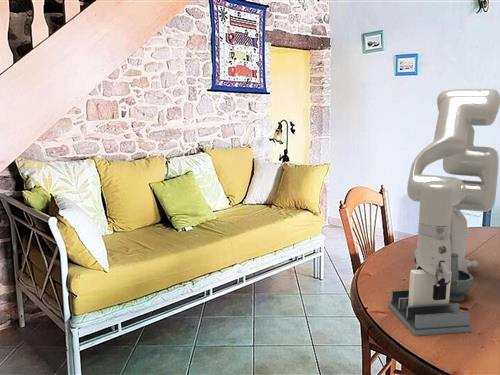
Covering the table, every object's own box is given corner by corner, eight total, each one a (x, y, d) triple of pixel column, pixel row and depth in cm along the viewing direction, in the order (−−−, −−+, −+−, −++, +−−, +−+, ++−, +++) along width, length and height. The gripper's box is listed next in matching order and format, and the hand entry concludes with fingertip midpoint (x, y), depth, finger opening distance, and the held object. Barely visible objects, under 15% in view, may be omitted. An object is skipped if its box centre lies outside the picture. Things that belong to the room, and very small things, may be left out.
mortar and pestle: (473, 305, 125) (477, 266, 123) (437, 301, 128) (440, 262, 126) (466, 289, 136) (470, 252, 133) (433, 286, 139) (436, 249, 136)
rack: (388, 306, 126) (389, 289, 125) (438, 302, 127) (439, 286, 126) (414, 335, 110) (415, 317, 109) (471, 331, 112) (473, 313, 111)
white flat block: (407, 312, 119) (410, 270, 117) (443, 309, 120) (446, 268, 118) (412, 316, 117) (414, 273, 114) (448, 314, 118) (451, 271, 116)
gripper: (467, 239, 106) (461, 305, 109) (431, 219, 123) (426, 277, 126) (437, 240, 105) (432, 307, 109) (404, 220, 122) (401, 278, 125)
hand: (429, 291), depth 117 cm, fingers open, 9 cm apart
